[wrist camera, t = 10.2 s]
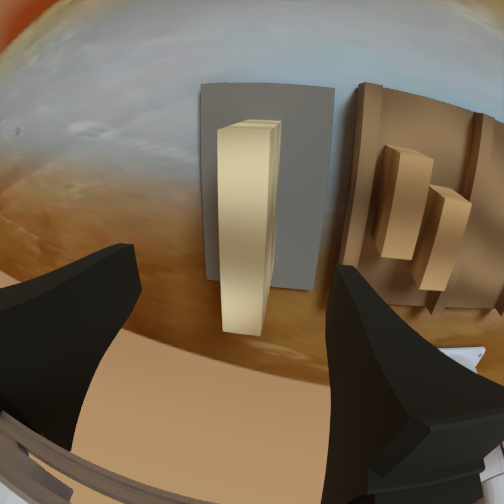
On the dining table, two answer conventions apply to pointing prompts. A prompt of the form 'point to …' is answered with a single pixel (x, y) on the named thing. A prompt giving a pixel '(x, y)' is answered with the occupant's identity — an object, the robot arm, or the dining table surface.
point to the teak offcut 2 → (439, 238)
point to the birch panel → (247, 220)
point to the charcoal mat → (290, 169)
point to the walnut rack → (443, 174)
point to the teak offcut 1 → (401, 201)
